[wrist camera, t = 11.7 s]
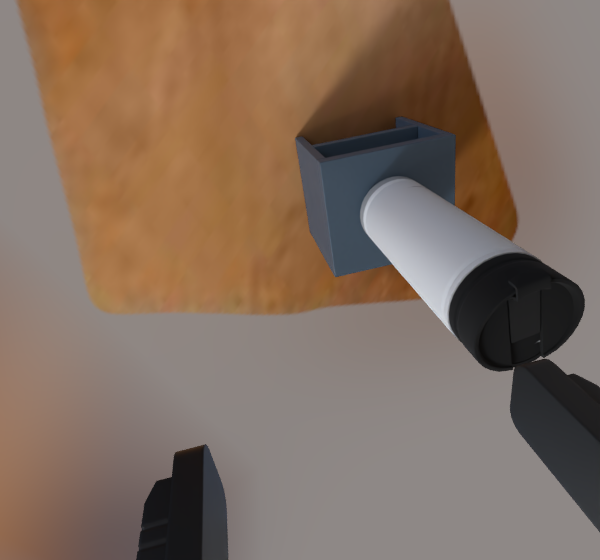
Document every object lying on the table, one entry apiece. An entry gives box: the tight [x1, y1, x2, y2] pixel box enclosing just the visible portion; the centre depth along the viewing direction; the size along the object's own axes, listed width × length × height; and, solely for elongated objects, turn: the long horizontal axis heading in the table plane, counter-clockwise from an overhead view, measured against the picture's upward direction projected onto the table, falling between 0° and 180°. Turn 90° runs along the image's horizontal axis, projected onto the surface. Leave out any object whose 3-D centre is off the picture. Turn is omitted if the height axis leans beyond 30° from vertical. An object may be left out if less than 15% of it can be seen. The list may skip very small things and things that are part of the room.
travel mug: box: [360, 176, 585, 372], centre depth 31 cm, size 6×7×20 cm
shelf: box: [295, 117, 456, 277], centre depth 45 cm, size 11×12×12 cm
